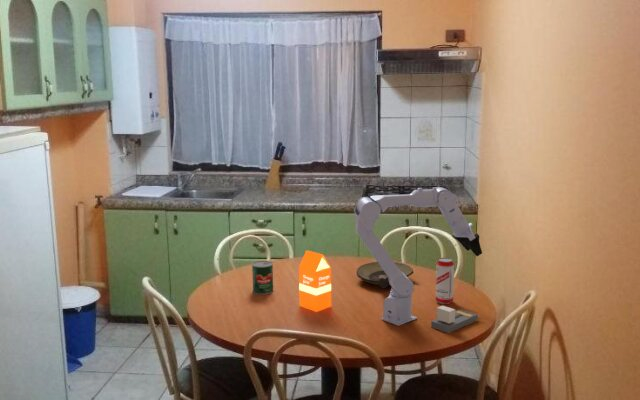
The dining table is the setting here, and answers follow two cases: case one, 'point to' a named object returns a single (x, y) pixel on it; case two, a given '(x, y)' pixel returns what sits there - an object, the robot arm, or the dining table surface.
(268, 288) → the canned tomato
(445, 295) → the beer can
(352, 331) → the dining table surface
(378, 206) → the robot arm
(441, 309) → the fader knob
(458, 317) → the fader deck
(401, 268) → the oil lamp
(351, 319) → the dining table surface
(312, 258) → the orange juice
